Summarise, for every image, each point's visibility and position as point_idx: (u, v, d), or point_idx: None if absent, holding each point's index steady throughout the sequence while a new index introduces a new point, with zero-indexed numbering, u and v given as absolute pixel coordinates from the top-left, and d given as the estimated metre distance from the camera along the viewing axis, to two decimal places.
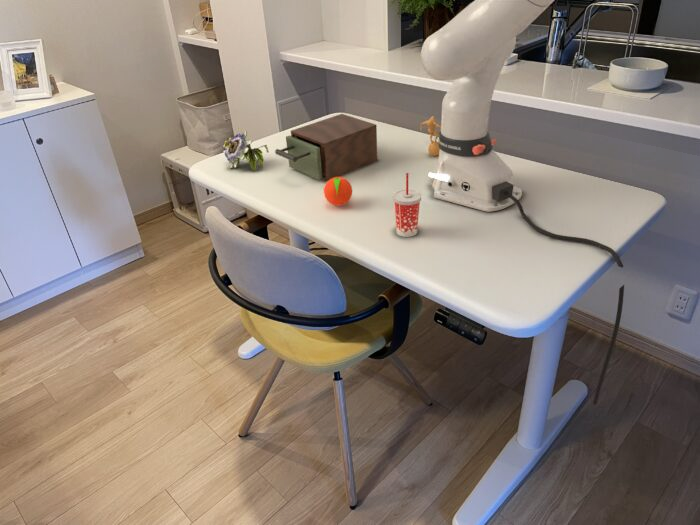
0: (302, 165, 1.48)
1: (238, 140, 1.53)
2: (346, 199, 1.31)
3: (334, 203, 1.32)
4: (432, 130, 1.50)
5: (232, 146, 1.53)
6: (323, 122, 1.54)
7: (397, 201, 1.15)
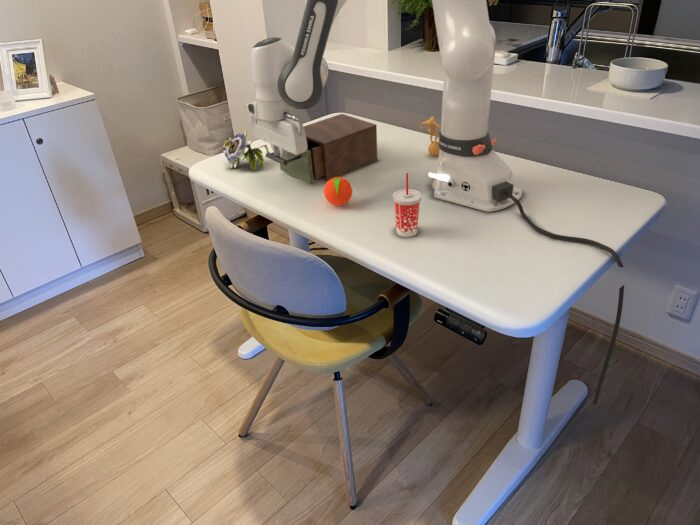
0: (293, 168, 1.46)
1: (238, 140, 1.53)
2: (346, 199, 1.31)
3: (334, 203, 1.32)
4: (432, 130, 1.50)
5: (232, 146, 1.53)
6: (323, 122, 1.54)
7: (397, 201, 1.15)
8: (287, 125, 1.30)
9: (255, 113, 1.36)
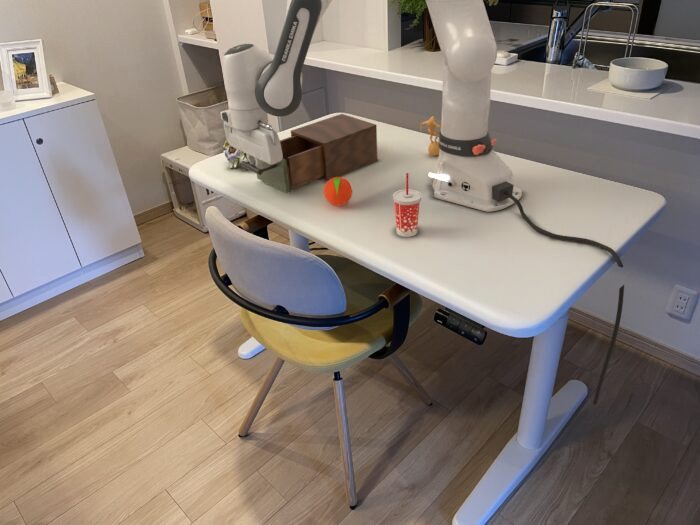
0: (269, 177, 1.42)
1: None
2: (346, 199, 1.31)
3: (334, 203, 1.32)
4: (432, 130, 1.50)
5: None
6: (323, 122, 1.54)
7: (397, 201, 1.15)
8: (261, 134, 1.26)
9: (229, 122, 1.32)
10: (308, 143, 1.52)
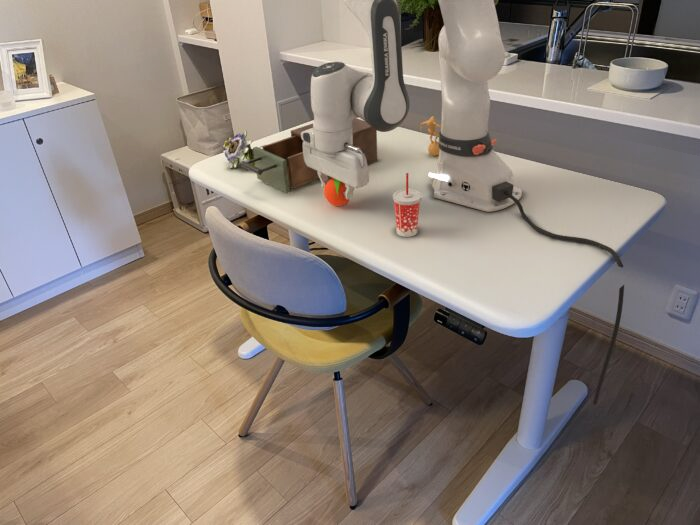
0: (269, 177, 1.42)
1: (238, 140, 1.53)
2: (346, 199, 1.31)
3: (334, 203, 1.31)
4: (432, 130, 1.50)
5: (232, 146, 1.53)
6: None
7: (397, 201, 1.15)
8: (349, 157, 1.20)
9: (311, 143, 1.26)
10: None
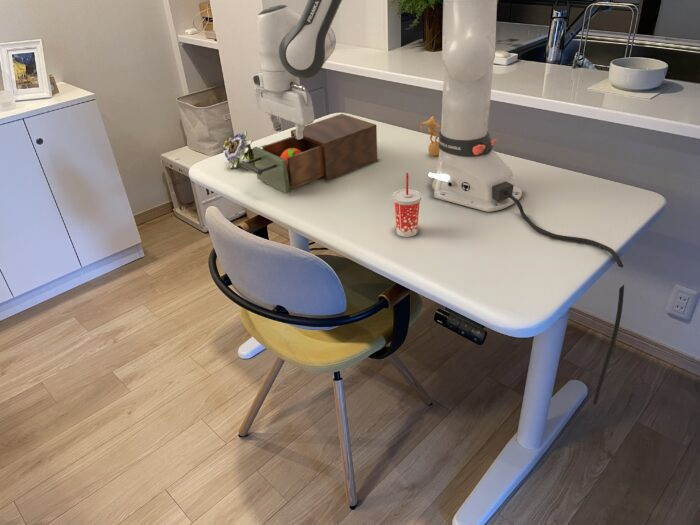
0: (269, 177, 1.42)
1: (238, 140, 1.53)
2: None
3: None
4: (432, 130, 1.50)
5: (232, 146, 1.53)
6: (323, 122, 1.54)
7: (397, 201, 1.15)
8: (294, 95, 1.28)
9: (261, 84, 1.34)
10: (307, 143, 1.52)
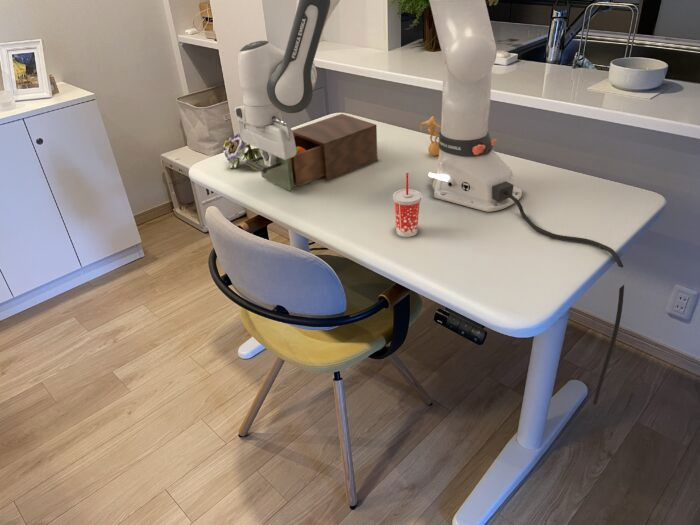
0: (274, 176, 1.43)
1: (238, 140, 1.53)
2: None
3: (293, 170, 1.44)
4: (432, 130, 1.50)
5: (232, 146, 1.53)
6: (323, 122, 1.54)
7: (397, 201, 1.15)
8: (276, 129, 1.28)
9: (243, 117, 1.34)
10: (311, 141, 1.53)
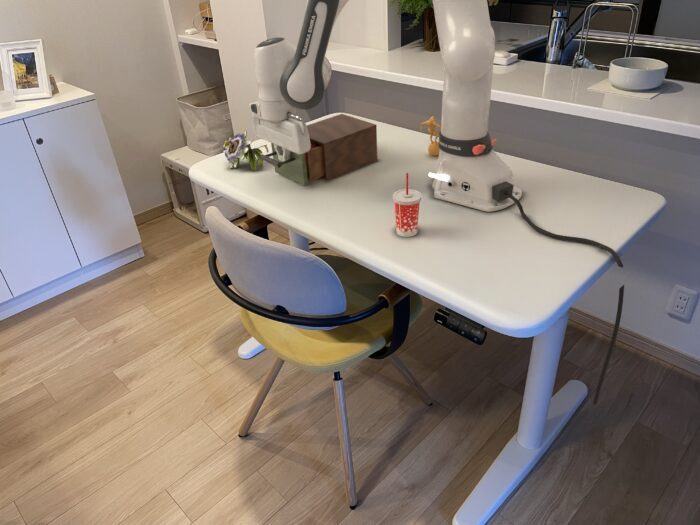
0: (287, 171, 1.45)
1: (238, 140, 1.53)
2: None
3: (306, 165, 1.47)
4: (432, 130, 1.50)
5: (232, 146, 1.53)
6: (323, 122, 1.54)
7: (397, 201, 1.15)
8: (291, 125, 1.31)
9: (258, 113, 1.36)
10: None
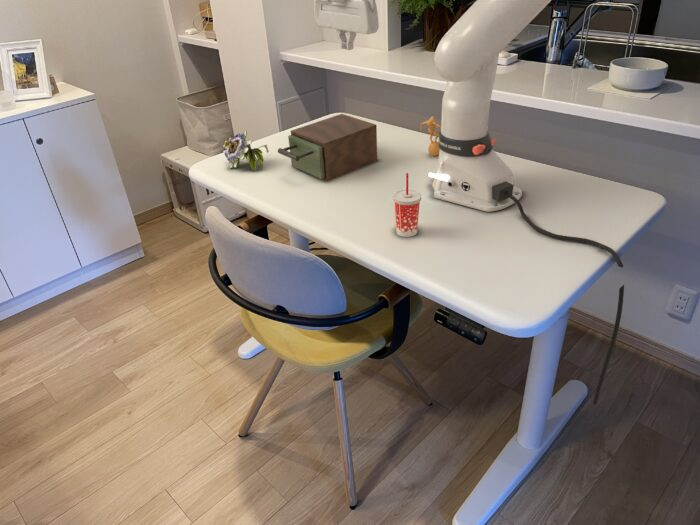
0: (304, 164, 1.48)
1: (238, 140, 1.53)
2: None
3: (323, 159, 1.50)
4: (432, 130, 1.50)
5: (232, 146, 1.53)
6: (323, 122, 1.54)
7: (397, 201, 1.15)
8: (360, 0, 1.25)
9: None
10: None
